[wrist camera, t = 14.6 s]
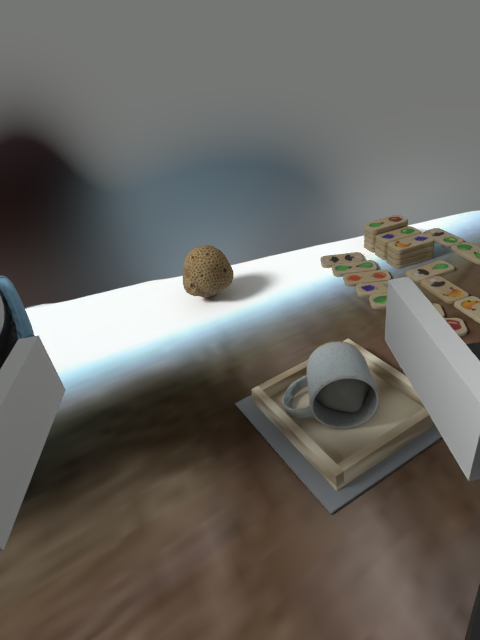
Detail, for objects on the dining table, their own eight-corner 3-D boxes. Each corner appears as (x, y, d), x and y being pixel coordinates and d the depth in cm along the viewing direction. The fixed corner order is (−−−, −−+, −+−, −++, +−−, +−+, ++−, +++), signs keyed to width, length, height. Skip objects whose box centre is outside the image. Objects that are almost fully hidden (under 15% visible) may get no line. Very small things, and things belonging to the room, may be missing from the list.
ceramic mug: (363, 378, 56) (362, 329, 52) (380, 426, 49) (381, 374, 45) (281, 388, 57) (274, 341, 53) (287, 436, 50) (279, 387, 46)
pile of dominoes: (314, 262, 88) (312, 237, 85) (429, 229, 93) (431, 204, 90) (426, 358, 60) (430, 324, 57) (584, 303, 65) (595, 270, 62)
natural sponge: (245, 287, 83) (237, 239, 77) (221, 312, 76) (210, 261, 71) (206, 281, 87) (196, 235, 82) (180, 304, 81) (167, 256, 75)
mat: (235, 405, 57) (234, 403, 57) (351, 343, 64) (351, 341, 64) (331, 514, 42) (330, 512, 42) (468, 419, 50) (468, 417, 49)
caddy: (253, 402, 56) (251, 389, 55) (348, 352, 62) (348, 338, 61) (336, 491, 44) (335, 476, 43) (445, 417, 50) (447, 402, 48)
